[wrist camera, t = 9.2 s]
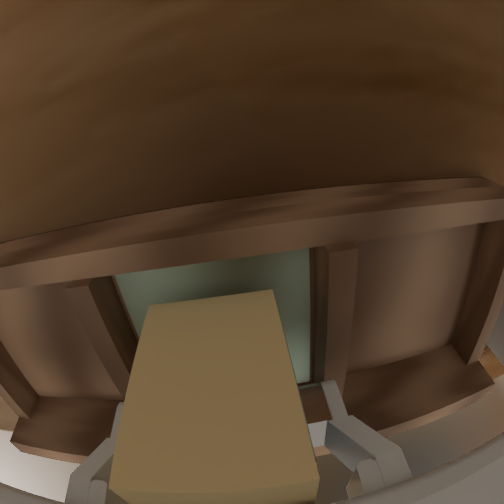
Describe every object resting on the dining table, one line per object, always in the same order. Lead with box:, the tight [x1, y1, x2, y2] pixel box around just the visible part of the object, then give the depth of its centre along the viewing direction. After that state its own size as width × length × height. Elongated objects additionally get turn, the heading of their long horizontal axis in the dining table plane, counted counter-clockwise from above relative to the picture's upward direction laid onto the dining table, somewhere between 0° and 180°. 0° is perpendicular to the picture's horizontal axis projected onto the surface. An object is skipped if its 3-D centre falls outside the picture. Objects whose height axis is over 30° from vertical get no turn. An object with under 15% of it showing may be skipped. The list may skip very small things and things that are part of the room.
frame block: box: [108, 289, 320, 504], centre depth 9 cm, size 5×6×7 cm
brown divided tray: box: [0, 177, 504, 464], centre depth 12 cm, size 28×11×6 cm, turn 96°
